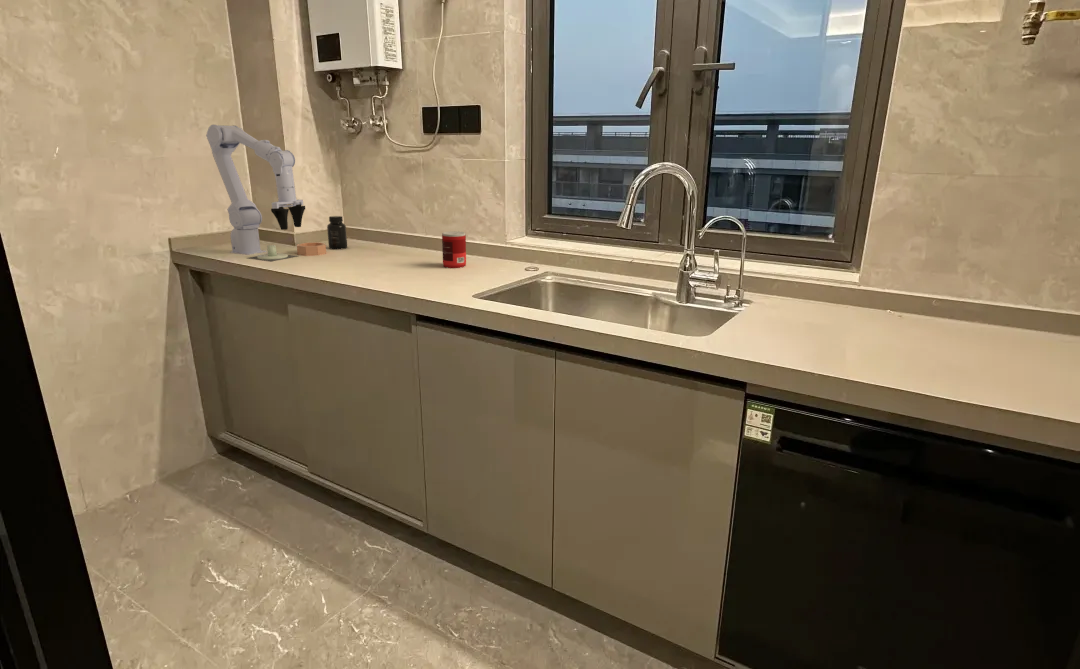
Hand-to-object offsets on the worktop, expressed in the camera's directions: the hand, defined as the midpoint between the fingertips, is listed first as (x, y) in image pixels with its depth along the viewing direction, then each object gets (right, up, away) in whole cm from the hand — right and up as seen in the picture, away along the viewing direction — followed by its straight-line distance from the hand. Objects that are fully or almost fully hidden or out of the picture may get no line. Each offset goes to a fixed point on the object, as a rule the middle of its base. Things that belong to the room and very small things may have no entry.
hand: (291, 228), depth 213 cm
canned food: (+57, -14, -7) cm, 59 cm away
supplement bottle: (+8, -4, +24) cm, 26 cm away
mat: (-7, -10, +1) cm, 12 cm away
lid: (-7, -10, +1) cm, 12 cm away
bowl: (+3, -8, +10) cm, 13 cm away
